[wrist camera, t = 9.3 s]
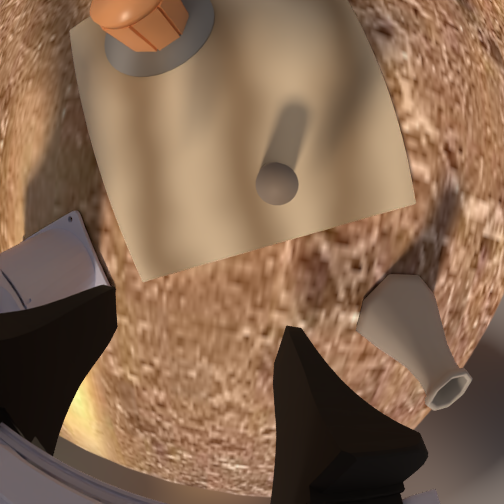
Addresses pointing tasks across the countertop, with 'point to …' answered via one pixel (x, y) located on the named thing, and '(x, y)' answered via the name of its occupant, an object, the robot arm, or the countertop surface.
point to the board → (240, 130)
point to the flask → (413, 336)
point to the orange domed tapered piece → (141, 21)
